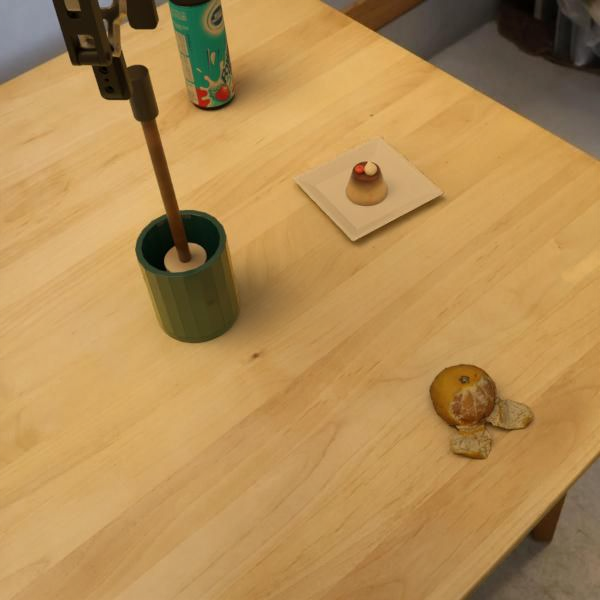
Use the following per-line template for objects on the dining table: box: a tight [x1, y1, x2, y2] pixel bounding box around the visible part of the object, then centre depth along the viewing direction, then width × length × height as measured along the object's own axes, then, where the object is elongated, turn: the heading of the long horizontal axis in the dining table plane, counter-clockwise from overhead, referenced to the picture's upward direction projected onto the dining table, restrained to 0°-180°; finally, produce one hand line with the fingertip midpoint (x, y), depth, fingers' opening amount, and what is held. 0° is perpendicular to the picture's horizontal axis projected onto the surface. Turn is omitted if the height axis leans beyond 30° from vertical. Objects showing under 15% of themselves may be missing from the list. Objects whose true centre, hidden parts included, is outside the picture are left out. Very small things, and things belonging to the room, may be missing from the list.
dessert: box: [292, 135, 444, 242], centre depth 93 cm, size 12×12×5 cm
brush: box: [127, 64, 208, 273], centre depth 75 cm, size 4×4×28 cm
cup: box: [134, 209, 241, 344], centre depth 82 cm, size 8×8×10 cm
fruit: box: [428, 363, 533, 460], centre depth 75 cm, size 8×8×4 cm
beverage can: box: [167, 0, 236, 110], centre depth 102 cm, size 6×6×15 cm
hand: (132, 60), depth 63 cm, fingers open, 8 cm apart
